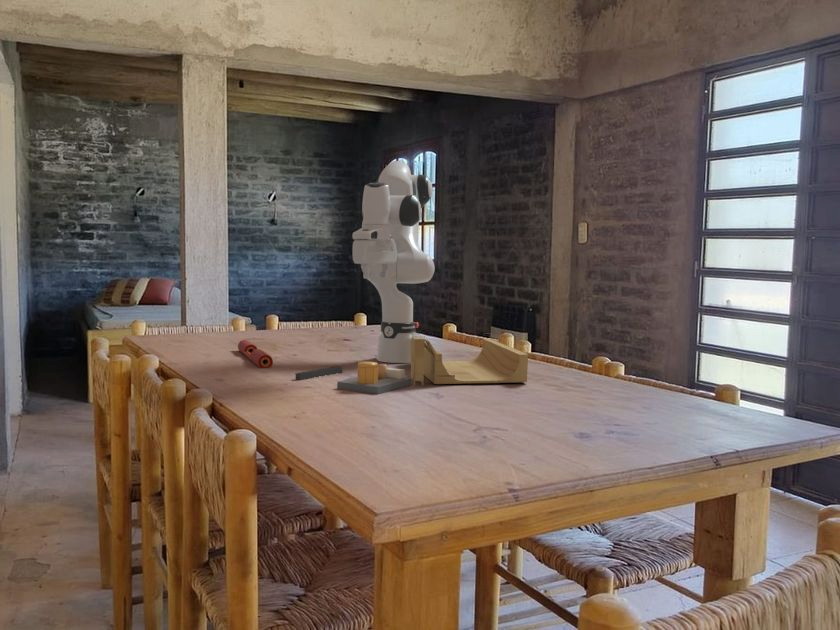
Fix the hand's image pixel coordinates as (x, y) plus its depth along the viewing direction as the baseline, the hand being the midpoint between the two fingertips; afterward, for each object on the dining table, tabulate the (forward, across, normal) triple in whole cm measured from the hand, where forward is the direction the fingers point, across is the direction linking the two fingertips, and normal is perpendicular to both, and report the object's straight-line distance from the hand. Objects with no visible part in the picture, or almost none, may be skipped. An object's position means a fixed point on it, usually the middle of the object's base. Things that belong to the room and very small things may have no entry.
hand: (375, 278), depth 234 cm
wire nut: (+29, +20, +11) cm, 37 cm away
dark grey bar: (+30, +10, -8) cm, 32 cm away
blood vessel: (+32, -3, -53) cm, 62 cm away
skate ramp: (+32, -19, +20) cm, 42 cm away
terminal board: (+31, +16, +11) cm, 37 cm away
